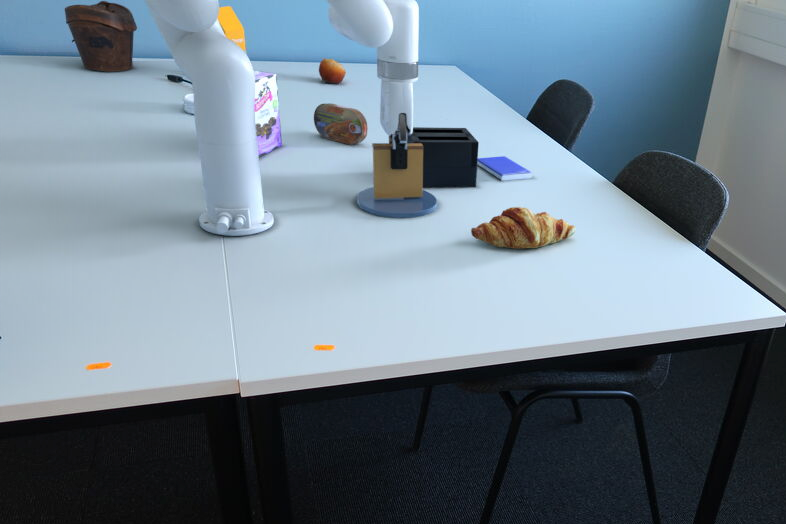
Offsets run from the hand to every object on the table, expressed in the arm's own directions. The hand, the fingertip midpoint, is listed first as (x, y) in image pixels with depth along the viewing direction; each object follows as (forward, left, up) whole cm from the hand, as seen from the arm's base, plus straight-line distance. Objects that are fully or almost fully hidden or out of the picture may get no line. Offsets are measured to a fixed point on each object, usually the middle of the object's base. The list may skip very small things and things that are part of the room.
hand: (397, 166), depth 149 cm
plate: (0, 0, -8) cm, 8 cm away
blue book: (+22, -26, -8) cm, 36 cm away
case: (+108, +77, -8) cm, 133 cm away
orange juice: (+100, +43, -8) cm, 109 cm away
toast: (0, 0, -6) cm, 6 cm away
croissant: (-20, -22, -8) cm, 31 cm away
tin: (+42, +11, -8) cm, 44 cm away
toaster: (+15, -10, -8) cm, 20 cm away
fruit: (+104, +13, -8) cm, 106 cm away
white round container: (+64, +45, -8) cm, 79 cm away
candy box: (+31, +30, -8) cm, 44 cm away
